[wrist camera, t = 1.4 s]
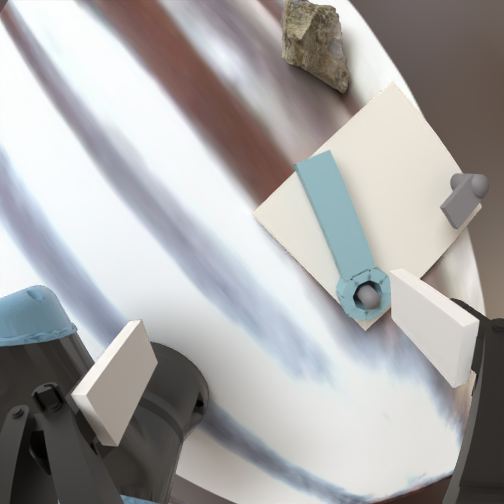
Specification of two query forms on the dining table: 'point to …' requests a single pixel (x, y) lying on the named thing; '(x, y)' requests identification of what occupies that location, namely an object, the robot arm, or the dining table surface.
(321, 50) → the rock
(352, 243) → the link
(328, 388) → the dining table surface
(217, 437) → the dining table surface
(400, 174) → the board
